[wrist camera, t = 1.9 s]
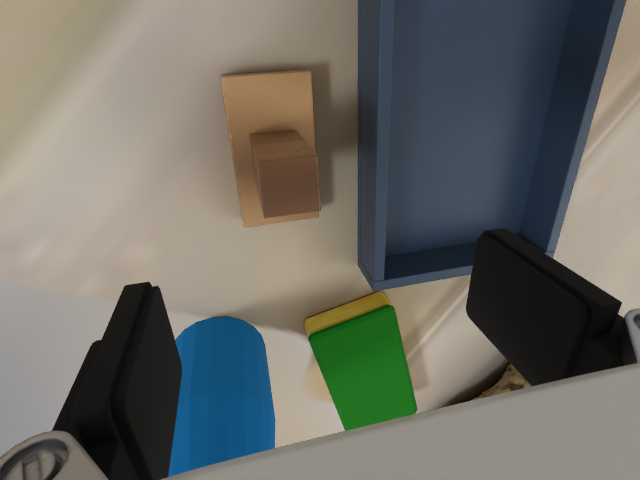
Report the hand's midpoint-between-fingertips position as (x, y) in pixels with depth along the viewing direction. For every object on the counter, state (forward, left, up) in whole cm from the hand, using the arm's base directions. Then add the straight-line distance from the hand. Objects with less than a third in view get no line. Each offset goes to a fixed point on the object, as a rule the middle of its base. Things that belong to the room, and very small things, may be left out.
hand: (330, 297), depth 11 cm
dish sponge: (+19, +6, -16) cm, 26 cm away
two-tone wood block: (-1, 0, -15) cm, 15 cm away
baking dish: (-4, +13, -15) cm, 21 cm away
